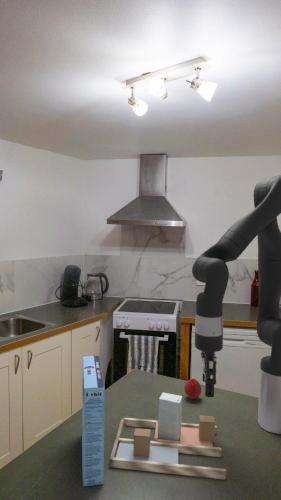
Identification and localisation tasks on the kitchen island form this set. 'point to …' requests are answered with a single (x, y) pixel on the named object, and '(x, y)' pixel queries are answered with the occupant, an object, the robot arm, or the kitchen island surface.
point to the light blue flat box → (92, 422)
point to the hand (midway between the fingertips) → (207, 388)
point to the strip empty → (146, 449)
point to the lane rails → (182, 448)
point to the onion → (192, 388)
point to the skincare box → (169, 417)
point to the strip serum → (195, 433)
